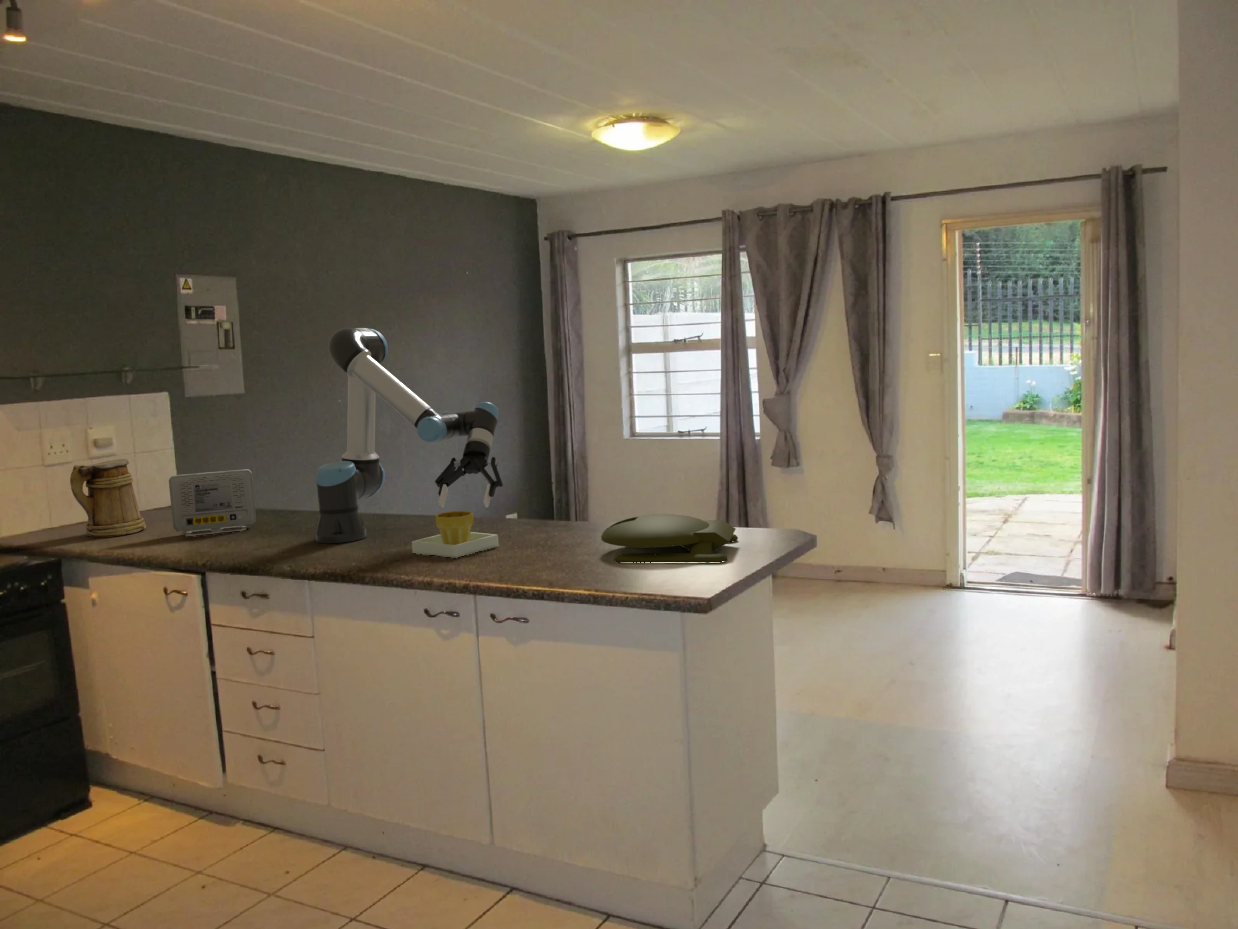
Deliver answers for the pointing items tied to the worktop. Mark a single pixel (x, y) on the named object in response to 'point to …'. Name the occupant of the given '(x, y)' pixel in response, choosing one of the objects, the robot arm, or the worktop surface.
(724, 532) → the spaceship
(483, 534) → the tray
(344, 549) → the worktop surface
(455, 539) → the plant pot
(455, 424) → the robot arm
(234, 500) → the network device
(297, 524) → the worktop surface
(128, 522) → the tankard
